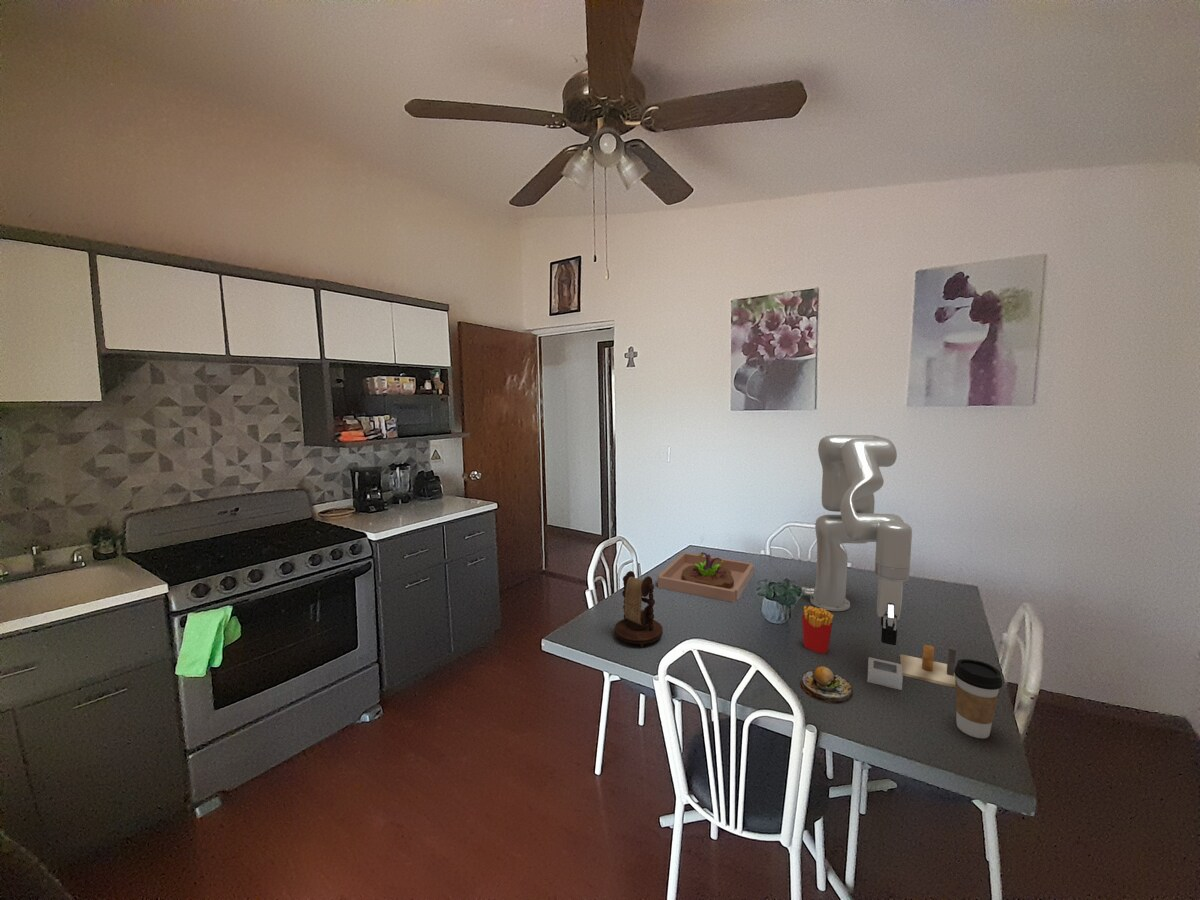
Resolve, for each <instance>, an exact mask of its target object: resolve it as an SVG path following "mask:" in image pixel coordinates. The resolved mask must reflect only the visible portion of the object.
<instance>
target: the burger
mask: <svg viewBox="0 0 1200 900" xmlns="http://www.w3.org/2000/svg"><path fill="white" fill-rule="evenodd" d="M800 685H801V687H802V690H803V691H804V693H807V694H808V695H809V696H810V697H811V698H813V699H814V700H815V699H816V700H818V701H821V702H824V703H828V704H844V703H846V702H847V701H850V700H852V698H853V693H854V692H853V691H854V690H853V686H852V685H851V683H850V682H849V681H848V680H847V679H846V678H844V677H843V676H841V675H840V674H837V673H834V672H832V670H831V669H830V668H828V667H826V666H823V665H822V666H821V665H819V667H817V668H815V669H811V670H808V671H804V672H803V674H801V680H800Z"/></svg>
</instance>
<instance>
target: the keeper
mask: <svg viewBox="0 0 1200 900" xmlns="http://www.w3.org/2000/svg"><path fill="white" fill-rule="evenodd" d="M922 649H923V650H922V658H920V657H915V656H911V655H907V654H902V653H901V654H900V653H899V659H900V663H899V664H902V675H903V677H906V678H911V679H916V680H920V681H925V682H928V683H931V684H935V685H941V686H945V687H949V688H955V689H956V686H955V681H956V675H955V673H954V670H955V667H956V665H955V664H956V656H957V650H956V649H957V648H956V647H955V646H950V645H949V646H948V652H947V663H943V662H939V661H934V660H935V657H934V656H935V647H934V646H933V645H930V644H924V645H923V648H922Z"/></svg>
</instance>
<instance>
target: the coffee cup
mask: <svg viewBox="0 0 1200 900" xmlns="http://www.w3.org/2000/svg"><path fill="white" fill-rule="evenodd" d="M954 674H955V678H956V681H955V686H956V688H955V707H956V708H955V709H956V710H955V711H956V713H955V714H956V717H955V718H956V726H957V728H958V730H960V731H961V732H962V733H964V734H966V735H968V736H969V737H973V738H975V739H988V738H989V737H990V734H991V730H992V725H993V721H994V716H995V713H996V710H997V706H998V705H997V704H998V702H999V697H1000V689H1002V687H1003V679H1002V674H1001V671H1000V670H999V669H998V668H996V667H995V666H993V665H991V664H989V663H987V662H984V661H981V660H976V659H968V658H964V659H963V658H961V659H960V658H959V660H957V662H956V665H955V668H954Z"/></svg>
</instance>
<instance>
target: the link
mask: <svg viewBox="0 0 1200 900" xmlns="http://www.w3.org/2000/svg"><path fill="white" fill-rule="evenodd" d="M903 678H904V676H903V675H902V664H901V663H897V662H894V661H888V660H883V659H878V658H875V657H870V656H868V661H867V683H869V684H870V683H871V684H874V685H875V684H876V685H880V686H881V687H887V688H891V689H895V690H900V691H903Z"/></svg>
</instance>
